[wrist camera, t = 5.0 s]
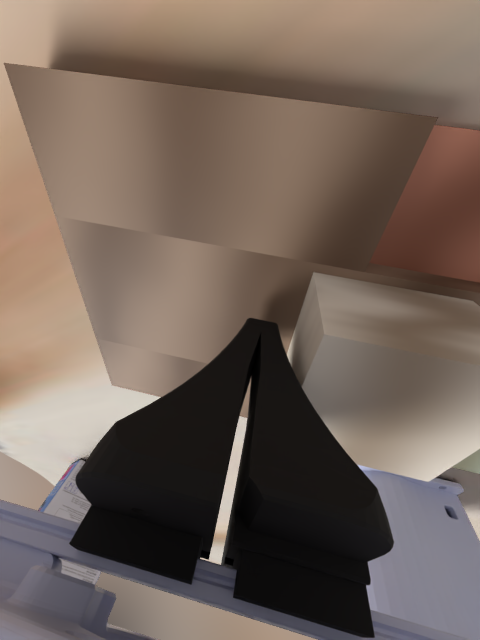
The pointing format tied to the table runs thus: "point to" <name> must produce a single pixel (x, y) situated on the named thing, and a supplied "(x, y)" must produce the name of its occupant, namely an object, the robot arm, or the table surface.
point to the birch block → (391, 373)
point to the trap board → (239, 210)
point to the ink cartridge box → (70, 515)
